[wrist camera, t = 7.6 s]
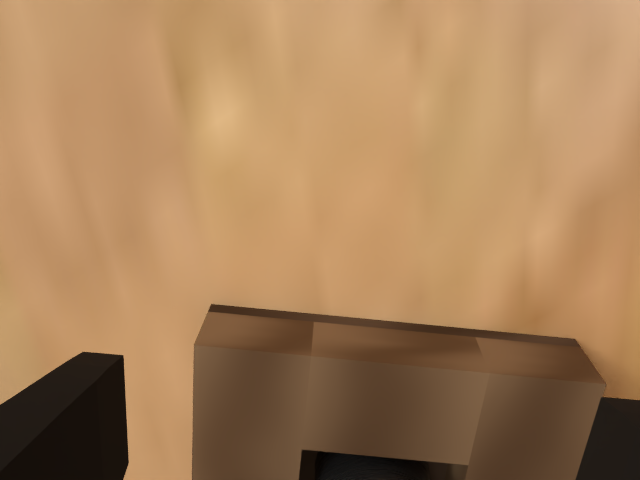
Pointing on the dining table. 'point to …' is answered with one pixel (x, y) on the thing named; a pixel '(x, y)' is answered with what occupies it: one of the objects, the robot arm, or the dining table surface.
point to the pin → (368, 468)
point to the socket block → (385, 397)
